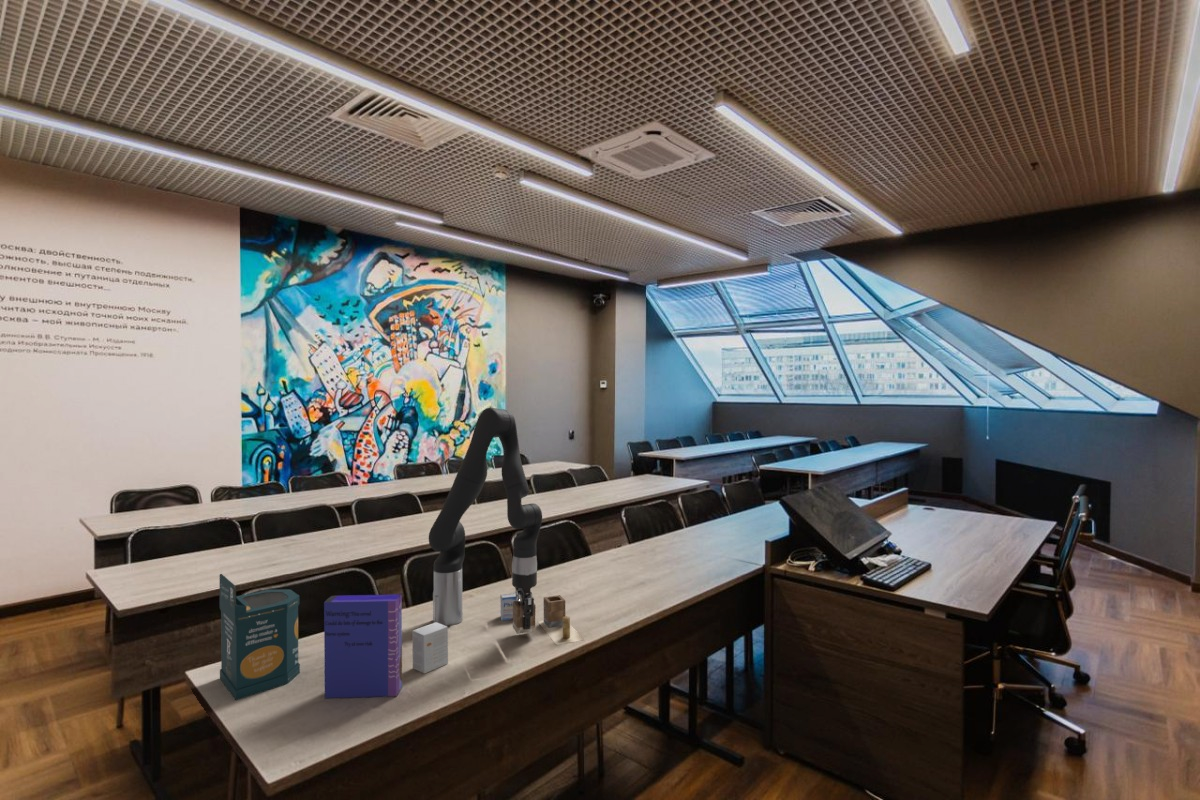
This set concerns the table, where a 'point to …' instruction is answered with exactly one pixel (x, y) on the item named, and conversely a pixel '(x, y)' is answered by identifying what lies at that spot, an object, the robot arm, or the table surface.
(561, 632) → the pin board
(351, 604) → the cereal box
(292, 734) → the table surface
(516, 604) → the sleeve brown
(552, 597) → the wooden pen holder
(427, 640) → the small box
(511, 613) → the medicine box
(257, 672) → the donation box
